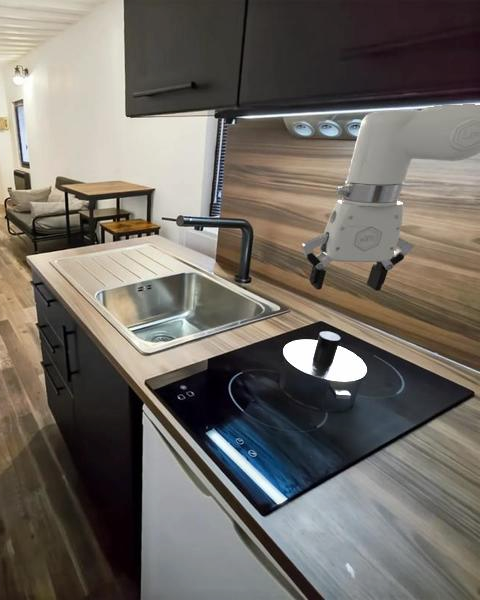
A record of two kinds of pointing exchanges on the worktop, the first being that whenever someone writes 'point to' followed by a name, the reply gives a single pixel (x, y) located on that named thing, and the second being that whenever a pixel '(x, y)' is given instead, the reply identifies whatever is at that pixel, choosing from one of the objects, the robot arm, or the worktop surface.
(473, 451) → the worktop surface
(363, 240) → the robot arm
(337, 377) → the lid
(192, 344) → the worktop surface
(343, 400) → the pot
